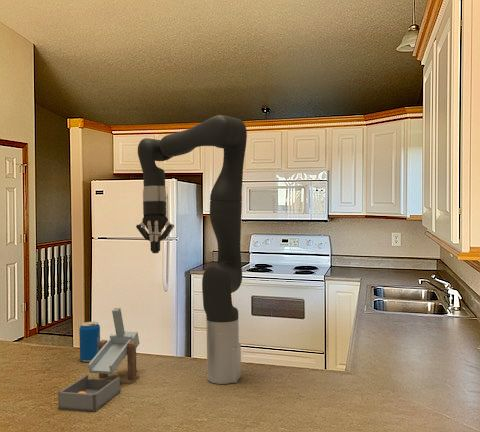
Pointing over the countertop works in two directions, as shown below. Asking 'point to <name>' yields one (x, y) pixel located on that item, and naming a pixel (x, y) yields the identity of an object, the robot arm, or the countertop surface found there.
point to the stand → (130, 361)
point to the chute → (113, 348)
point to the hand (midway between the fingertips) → (155, 253)
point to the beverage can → (89, 340)
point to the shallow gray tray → (88, 394)
